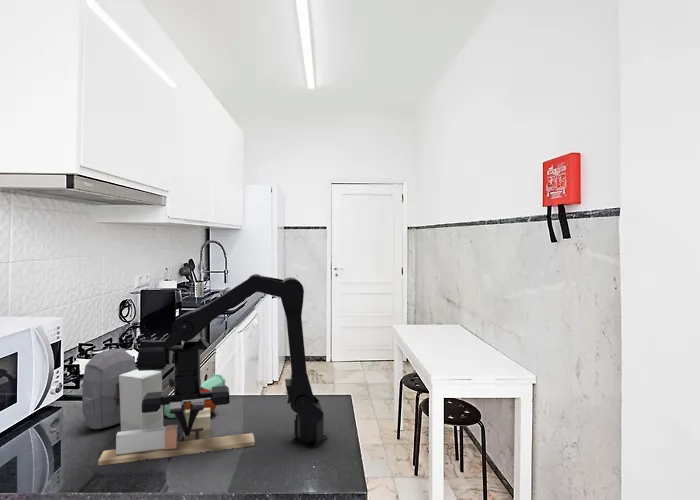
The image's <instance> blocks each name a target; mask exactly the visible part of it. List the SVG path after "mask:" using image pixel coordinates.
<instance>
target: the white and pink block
mask: <svg viewBox="0 0 700 500" xmlns="http://www.w3.org/2000/svg"><path fill="white" fill-rule="evenodd" d="M177 442H178V424H171V425H170V424H169V425H165V426H163V427H159V428H149V429H140V430H131V431H122V432H121V431H117V433H116V435H115V449H116V455H117V454H125V453H133V452H141V451H150V450H158V449H165V450H166V449H174V448H176V447H177Z"/></svg>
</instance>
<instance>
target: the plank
mask: <svg viewBox="0 0 700 500" xmlns="http://www.w3.org/2000/svg"><path fill="white" fill-rule="evenodd" d="M255 442H256V440H255V437H254V433H253V432H249V433H243V434H242V433H241V434H233V435H226V436H217V437H210V438H207V439H198V440H190V441H184V440H183V441H177V447H176V448H174V449H166V450H165V449H158V450H150V451H141V452H133V453H125V454H117V455H116V448H115V449H109V450H108V449H107V450H103V451H102V453H101V455H100V457H99V459H98V462H97V465H98V466H100V467H101V466H107V465H116V464H123V463H129V462H130V463H131V462H139V461H138V460H140V461H145V460H146V459H148V460H154V459H162V458H163V459H164V458H170V457H177V456H185V454H187V455H192V454H193V455H194V454H201V453H200V452H202V453H207V452H206V451H210V452H213V451H212V450H218V451H222V450H221V449H226V450H232V448H233V449H240V448H246V447H247V448H248V447H255V445H256V444H255ZM146 461H147V460H146Z"/></svg>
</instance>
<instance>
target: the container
mask: <svg viewBox="0 0 700 500" xmlns="http://www.w3.org/2000/svg"><path fill="white" fill-rule="evenodd" d="M216 386H226V379H225V378H224V377H223V375H222V374H221V373H219V374H218V373H217V374H216V373H214V374H212V375H211V376H210V378H208V379H206V380H205V381H202V382H201V387H203V388H205V389H208V390H210V391H211V392H212V387H216ZM163 414H164V415H165V416H166V417H167V418H170V419H176V418H177V417H176V416H175V414H170V404H168V405H164V406H163ZM175 417H176V418H175Z"/></svg>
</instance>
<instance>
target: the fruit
mask: <svg viewBox="0 0 700 500" xmlns="http://www.w3.org/2000/svg"><path fill="white" fill-rule="evenodd" d="M202 392H211V391H210V390H208V389H205V388H203V387H201V391H200V393H202ZM190 407H191V402H187V403H185V410H190ZM204 408H210V414H212V413H213V412H214V411H215V410H216V408H217V405H214V404H213V403H212V400H207V401H204Z"/></svg>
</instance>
